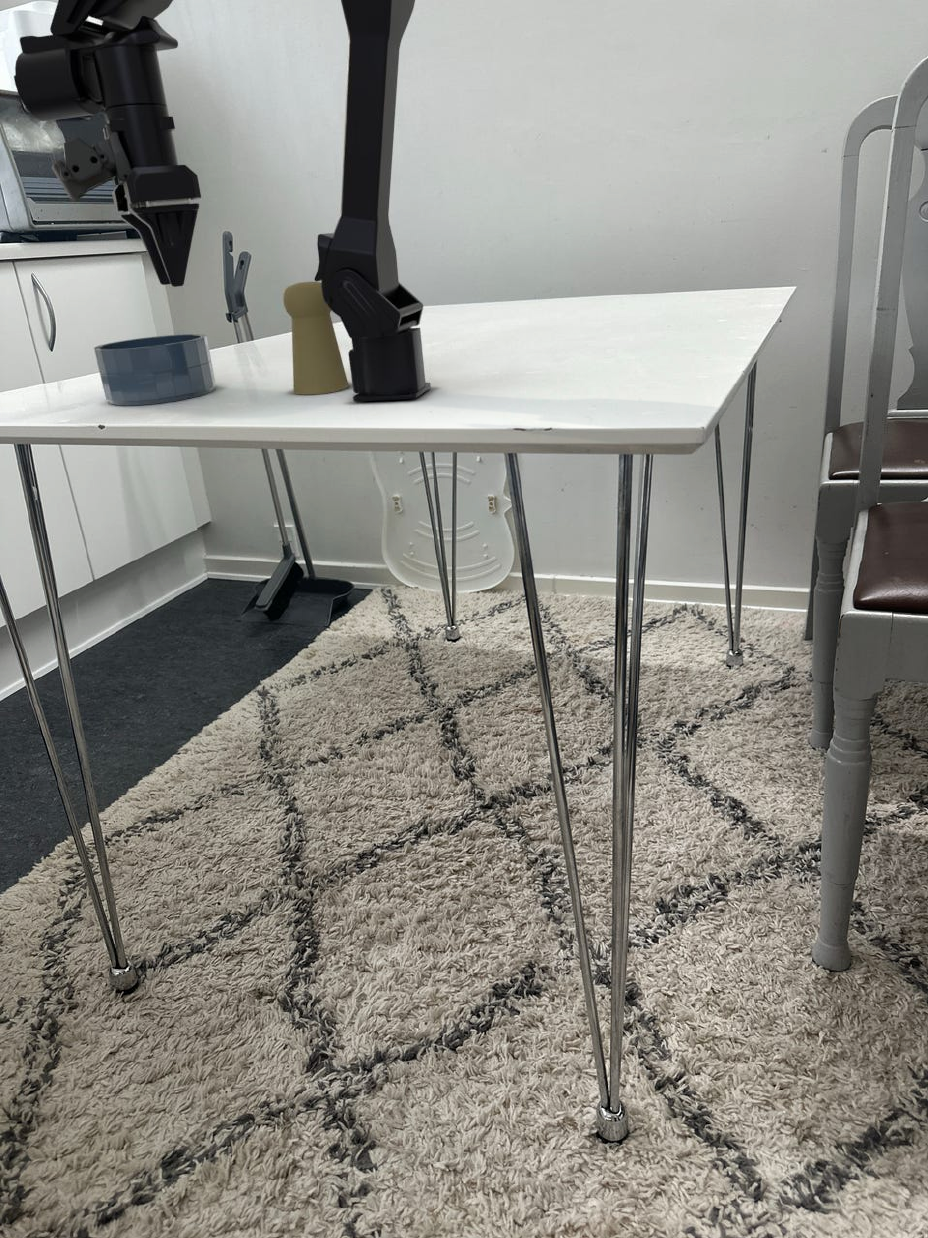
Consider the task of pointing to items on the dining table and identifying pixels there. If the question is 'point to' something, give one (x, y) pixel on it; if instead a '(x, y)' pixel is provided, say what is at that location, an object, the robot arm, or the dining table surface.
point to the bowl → (155, 369)
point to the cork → (313, 341)
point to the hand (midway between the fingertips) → (171, 285)
